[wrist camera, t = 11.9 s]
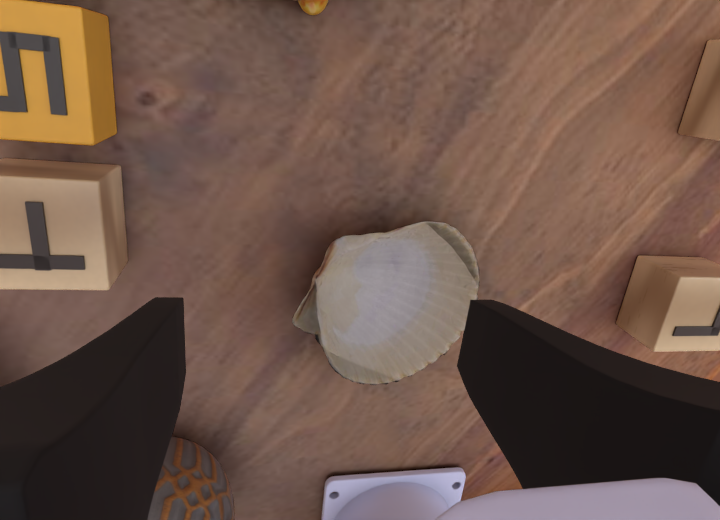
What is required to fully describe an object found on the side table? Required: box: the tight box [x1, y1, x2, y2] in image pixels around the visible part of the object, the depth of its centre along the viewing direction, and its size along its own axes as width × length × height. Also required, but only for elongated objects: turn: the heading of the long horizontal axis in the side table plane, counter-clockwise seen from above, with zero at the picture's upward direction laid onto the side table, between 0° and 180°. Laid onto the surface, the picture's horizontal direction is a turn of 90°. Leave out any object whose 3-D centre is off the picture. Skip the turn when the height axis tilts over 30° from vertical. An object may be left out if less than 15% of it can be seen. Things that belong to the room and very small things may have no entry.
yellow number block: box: [0, 0, 117, 146], centre depth 16 cm, size 4×4×3 cm
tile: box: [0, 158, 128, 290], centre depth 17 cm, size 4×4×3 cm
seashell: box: [292, 221, 479, 385], centre depth 21 cm, size 8×3×8 cm
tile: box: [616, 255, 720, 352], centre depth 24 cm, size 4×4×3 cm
